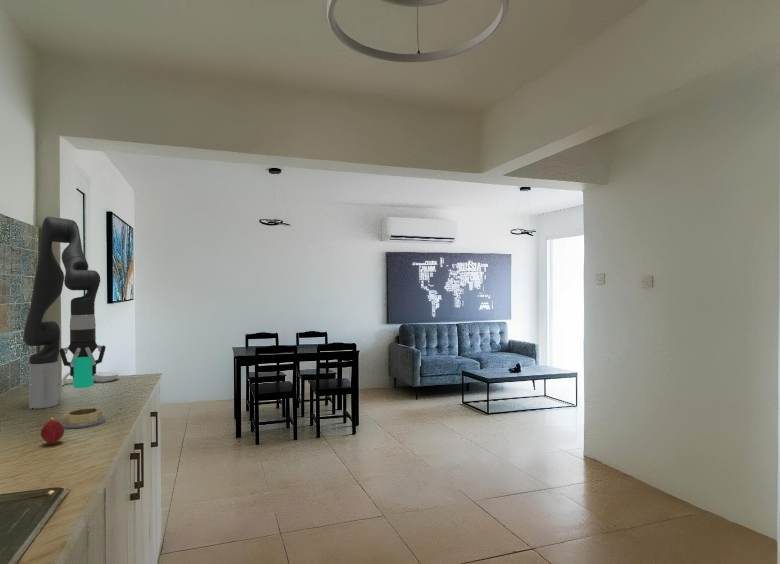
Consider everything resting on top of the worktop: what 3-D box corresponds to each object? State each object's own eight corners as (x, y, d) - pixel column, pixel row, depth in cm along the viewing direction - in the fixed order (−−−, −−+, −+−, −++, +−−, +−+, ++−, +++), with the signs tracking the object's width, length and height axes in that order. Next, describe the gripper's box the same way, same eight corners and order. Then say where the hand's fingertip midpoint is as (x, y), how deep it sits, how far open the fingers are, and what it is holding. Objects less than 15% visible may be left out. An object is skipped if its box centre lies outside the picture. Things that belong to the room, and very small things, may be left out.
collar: (64, 427, 162) (63, 418, 162) (64, 419, 171) (64, 410, 171) (102, 421, 168) (102, 413, 168) (101, 414, 177) (101, 406, 177)
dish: (60, 431, 160) (60, 428, 160) (61, 421, 171) (61, 418, 171) (106, 424, 167) (106, 422, 167) (104, 416, 178) (104, 413, 178)
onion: (68, 441, 150) (68, 416, 150) (50, 448, 144) (50, 421, 144) (55, 439, 152) (55, 414, 152) (36, 446, 146) (36, 419, 146)
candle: (78, 388, 165) (78, 353, 165) (69, 386, 168) (69, 352, 168) (96, 385, 170) (96, 351, 170) (88, 383, 173) (87, 349, 173)
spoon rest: (117, 378, 248) (117, 364, 248) (119, 382, 238) (119, 367, 238) (61, 383, 235) (61, 369, 234) (61, 388, 225) (61, 372, 225)
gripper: (106, 325, 176) (106, 372, 176) (58, 327, 168) (58, 377, 169) (107, 327, 170) (107, 376, 170) (57, 329, 162) (57, 380, 162)
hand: (83, 376), depth 169 cm, fingers closed on candle, 5 cm apart
